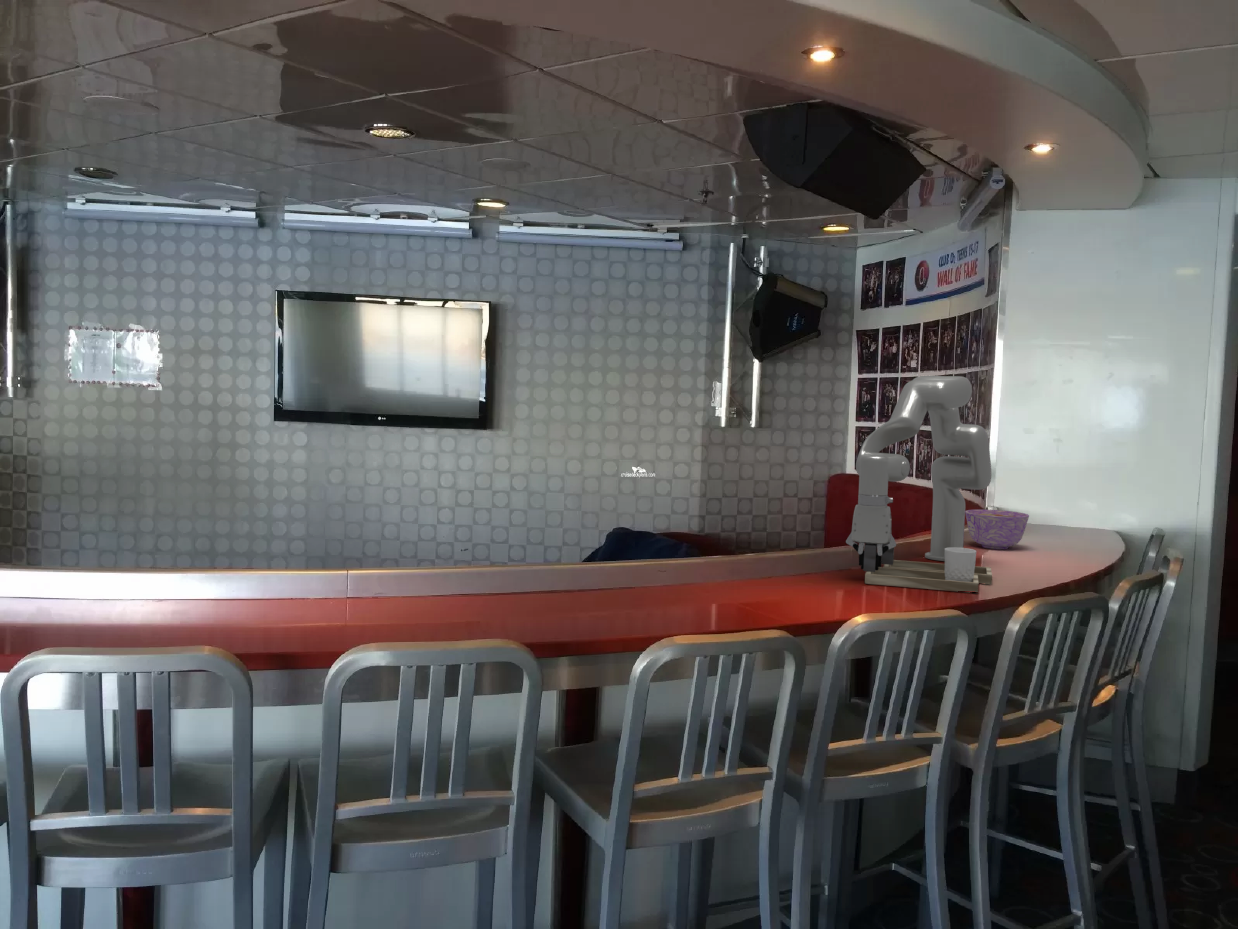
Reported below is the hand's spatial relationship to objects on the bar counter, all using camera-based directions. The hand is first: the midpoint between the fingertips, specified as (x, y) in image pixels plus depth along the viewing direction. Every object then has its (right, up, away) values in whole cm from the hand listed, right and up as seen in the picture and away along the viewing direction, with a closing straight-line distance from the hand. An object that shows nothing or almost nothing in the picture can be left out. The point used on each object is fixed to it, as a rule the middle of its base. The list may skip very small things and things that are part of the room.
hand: (869, 568), depth 262 cm
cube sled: (+21, -3, +8) cm, 22 cm away
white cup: (+21, -5, -7) cm, 23 cm away
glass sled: (+13, -4, -4) cm, 14 cm away
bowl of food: (+59, 0, +64) cm, 87 cm away
